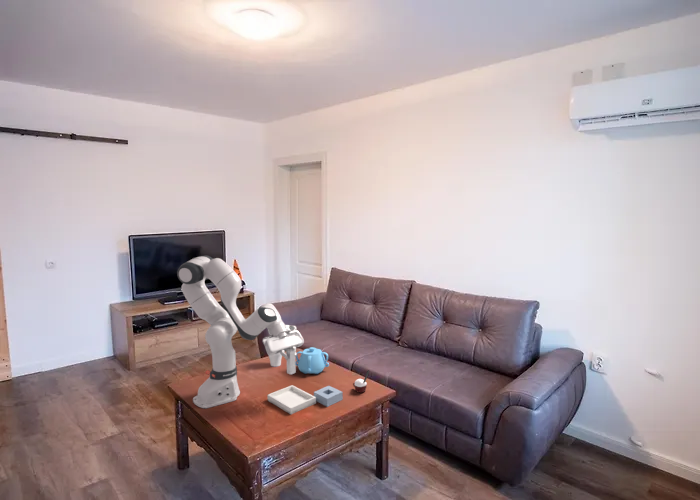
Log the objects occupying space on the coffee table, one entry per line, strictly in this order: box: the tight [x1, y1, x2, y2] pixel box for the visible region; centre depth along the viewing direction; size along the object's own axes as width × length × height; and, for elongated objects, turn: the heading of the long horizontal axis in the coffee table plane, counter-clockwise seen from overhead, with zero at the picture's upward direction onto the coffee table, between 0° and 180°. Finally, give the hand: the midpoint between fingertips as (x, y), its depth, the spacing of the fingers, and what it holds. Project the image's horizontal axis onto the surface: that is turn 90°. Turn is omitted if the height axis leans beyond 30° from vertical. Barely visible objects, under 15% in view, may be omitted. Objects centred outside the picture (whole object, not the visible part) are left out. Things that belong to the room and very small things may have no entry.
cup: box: [268, 353, 283, 368], centre depth 242 cm, size 10×10×14 cm
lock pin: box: [285, 349, 297, 376], centre depth 195 cm, size 3×3×11 cm
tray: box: [266, 384, 317, 415], centre depth 197 cm, size 15×19×3 cm
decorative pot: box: [295, 346, 330, 375], centre depth 233 cm, size 16×16×14 cm
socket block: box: [313, 385, 344, 407], centre depth 199 cm, size 10×10×4 cm
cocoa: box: [352, 369, 370, 393], centre depth 207 cm, size 10×6×12 cm, turn 32°
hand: (291, 357), depth 194 cm, fingers closed on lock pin, 3 cm apart
